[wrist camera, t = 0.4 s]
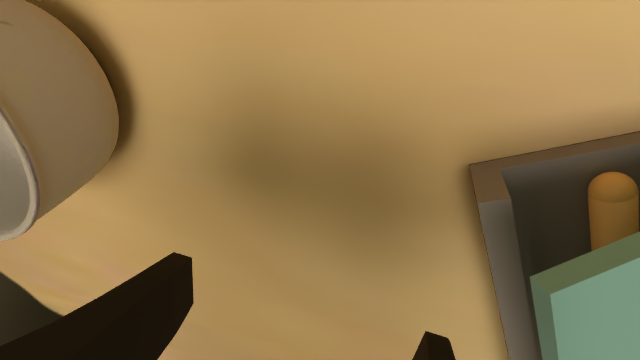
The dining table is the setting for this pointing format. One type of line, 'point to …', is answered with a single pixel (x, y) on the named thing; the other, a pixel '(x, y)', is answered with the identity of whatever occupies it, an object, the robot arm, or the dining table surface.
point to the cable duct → (552, 219)
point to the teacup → (48, 115)
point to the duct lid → (591, 304)
